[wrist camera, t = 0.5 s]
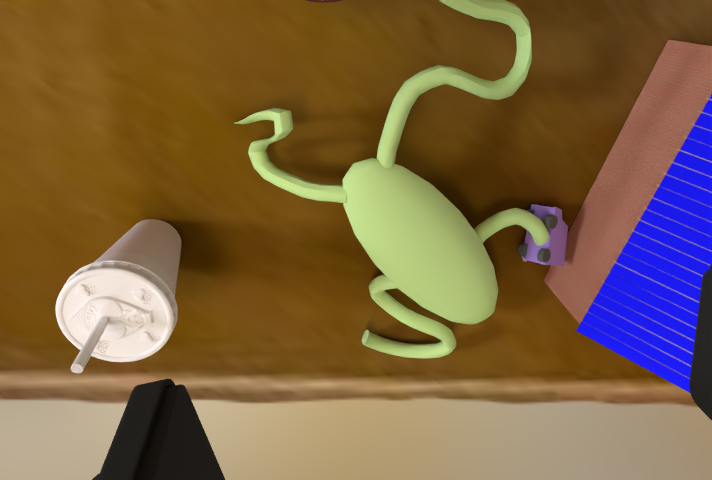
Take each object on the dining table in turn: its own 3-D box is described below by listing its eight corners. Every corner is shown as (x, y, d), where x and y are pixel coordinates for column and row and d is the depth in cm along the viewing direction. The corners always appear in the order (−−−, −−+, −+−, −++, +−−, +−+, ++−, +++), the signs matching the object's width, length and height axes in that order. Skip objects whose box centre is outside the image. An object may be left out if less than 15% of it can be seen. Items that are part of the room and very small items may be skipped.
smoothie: (100, 201, 37) (2, 315, 24) (196, 200, 38) (148, 310, 25) (116, 282, 40) (34, 421, 27) (204, 279, 40) (165, 414, 28)
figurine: (474, -63, 32) (507, -72, 27) (584, 275, 44) (621, 313, 39) (208, 79, 34) (193, 95, 29) (380, 367, 46) (391, 414, 41)
